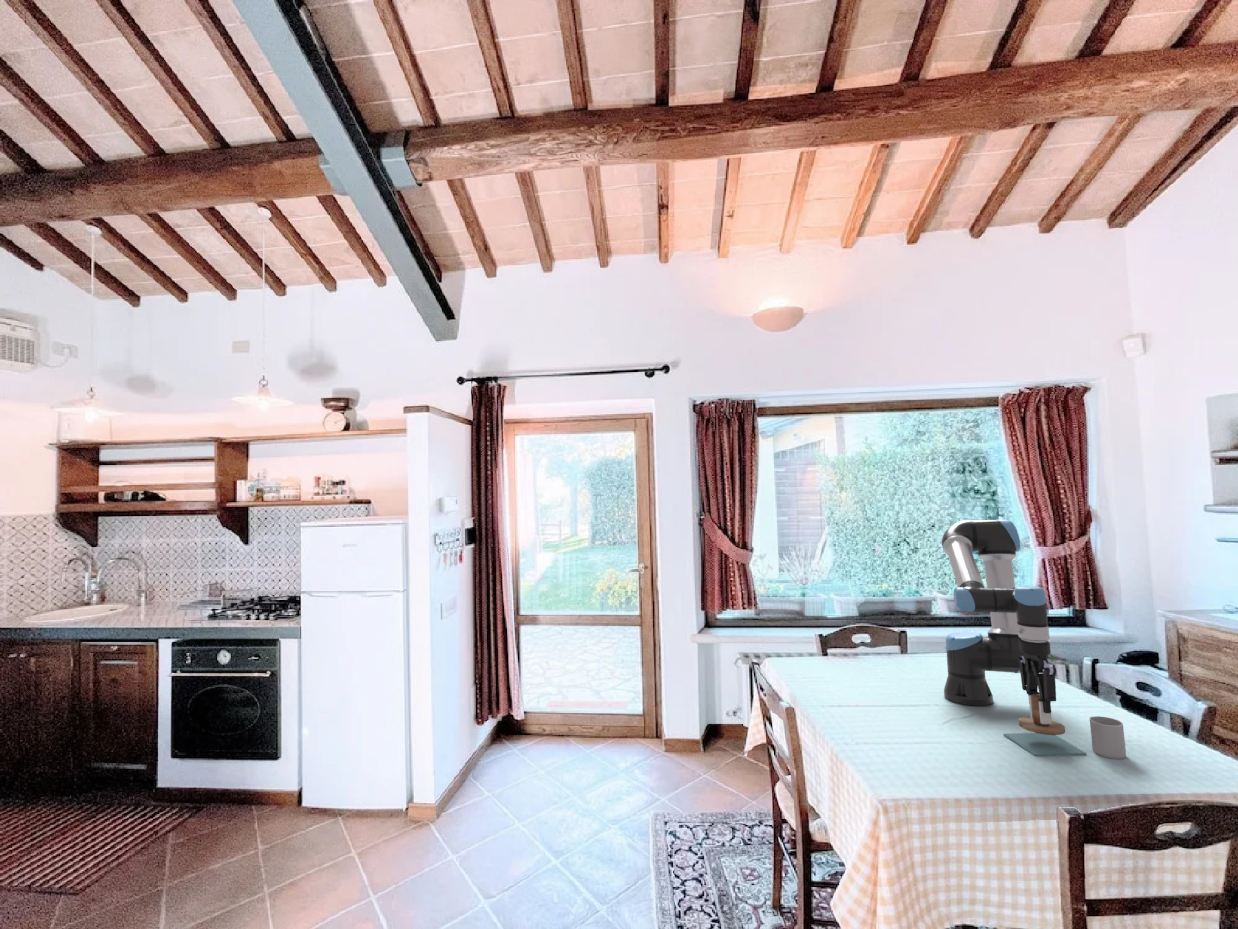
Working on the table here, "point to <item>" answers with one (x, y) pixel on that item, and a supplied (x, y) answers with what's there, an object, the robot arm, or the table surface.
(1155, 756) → the table surface
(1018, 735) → the mat
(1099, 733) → the cup
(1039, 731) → the lid
